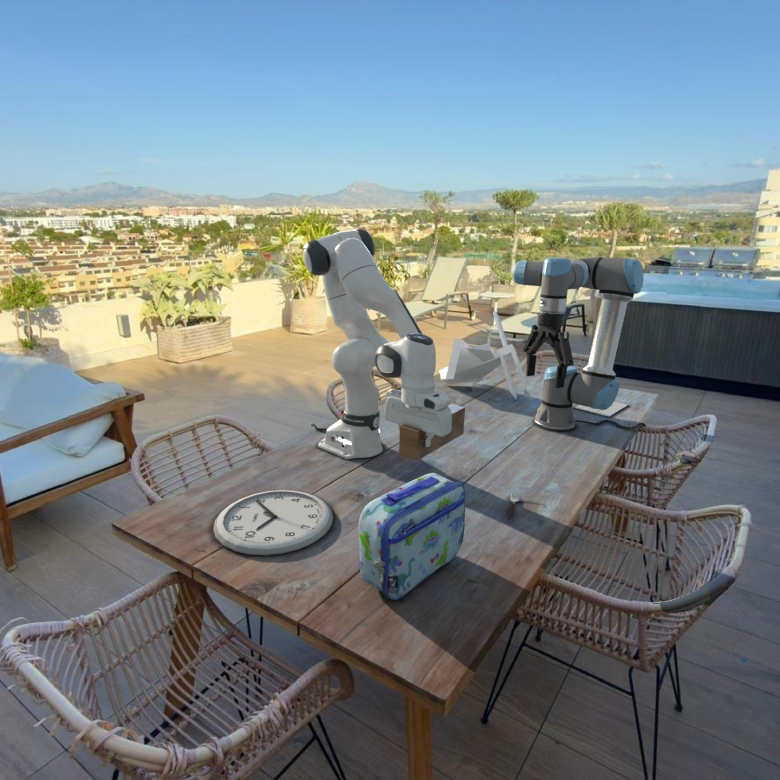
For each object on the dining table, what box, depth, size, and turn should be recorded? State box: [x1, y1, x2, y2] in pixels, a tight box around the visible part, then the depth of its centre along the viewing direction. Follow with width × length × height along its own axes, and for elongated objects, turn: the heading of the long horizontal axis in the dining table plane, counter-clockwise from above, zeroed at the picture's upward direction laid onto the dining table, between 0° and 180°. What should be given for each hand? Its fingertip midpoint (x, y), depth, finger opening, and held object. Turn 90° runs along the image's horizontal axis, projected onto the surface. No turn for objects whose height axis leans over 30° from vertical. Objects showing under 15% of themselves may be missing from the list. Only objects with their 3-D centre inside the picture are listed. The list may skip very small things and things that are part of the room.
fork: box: [508, 487, 522, 521], centre depth 143 cm, size 3×16×2 cm, turn 160°
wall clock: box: [212, 489, 334, 556], centre depth 134 cm, size 30×2×30 cm
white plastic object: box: [438, 310, 531, 400], centre depth 245 cm, size 37×45×31 cm
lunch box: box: [358, 472, 466, 601], centre depth 112 cm, size 26×11×21 cm, turn 134°
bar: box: [398, 403, 466, 462], centre depth 150 cm, size 25×6×9 cm, turn 142°
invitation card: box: [573, 401, 629, 418], centre depth 226 cm, size 21×1×15 cm
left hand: (415, 442), depth 144 cm, fingers closed on bar, 6 cm apart
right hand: (544, 381), depth 160 cm, fingers open, 13 cm apart
